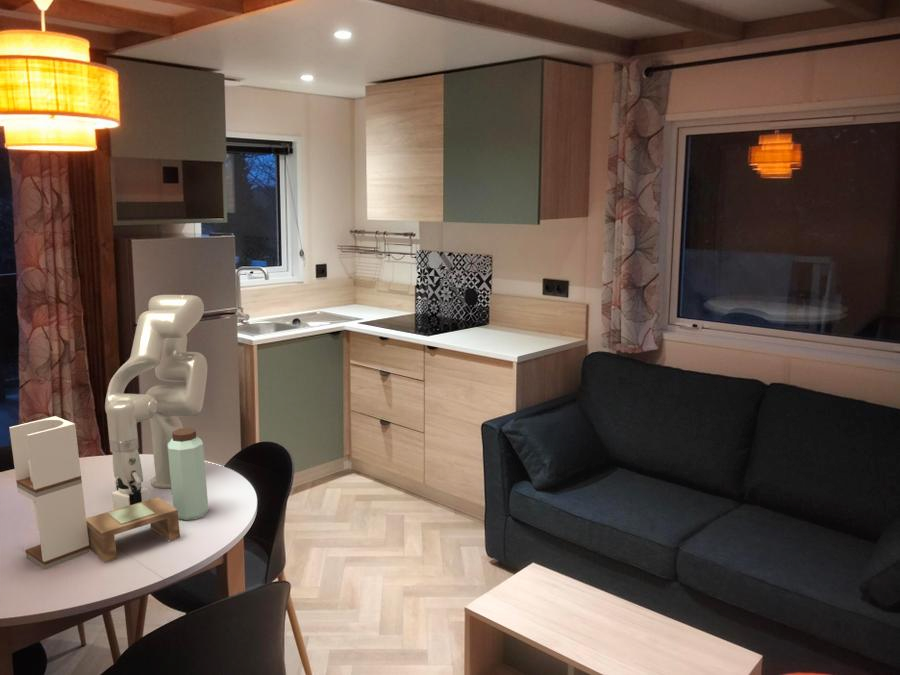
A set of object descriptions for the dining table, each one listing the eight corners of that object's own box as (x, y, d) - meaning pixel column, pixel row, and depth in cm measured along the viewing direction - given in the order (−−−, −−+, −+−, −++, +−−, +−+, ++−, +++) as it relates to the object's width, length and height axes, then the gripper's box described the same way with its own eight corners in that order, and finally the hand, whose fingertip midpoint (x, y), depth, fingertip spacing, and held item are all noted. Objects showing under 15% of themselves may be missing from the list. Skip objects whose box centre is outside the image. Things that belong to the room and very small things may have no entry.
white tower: (70, 541, 214) (55, 416, 207) (89, 552, 207) (75, 423, 200) (26, 557, 205) (9, 427, 198) (45, 569, 199) (28, 435, 192)
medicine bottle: (150, 511, 232) (146, 472, 230) (130, 520, 226) (126, 480, 224) (133, 506, 236) (129, 468, 233) (113, 515, 230) (109, 476, 227)
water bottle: (216, 513, 230) (209, 430, 225) (184, 524, 223) (176, 439, 218) (198, 504, 237) (191, 423, 232) (166, 514, 230) (158, 432, 224)
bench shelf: (161, 523, 224) (158, 496, 222) (180, 537, 215) (177, 508, 214) (87, 547, 210) (84, 517, 209) (104, 562, 202) (101, 532, 200)
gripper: (149, 448, 223) (155, 506, 226) (125, 434, 235) (130, 490, 238) (123, 454, 218) (128, 514, 221) (99, 440, 230) (105, 496, 233)
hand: (129, 501), depth 230 cm, fingers closed on medicine bottle, 8 cm apart
